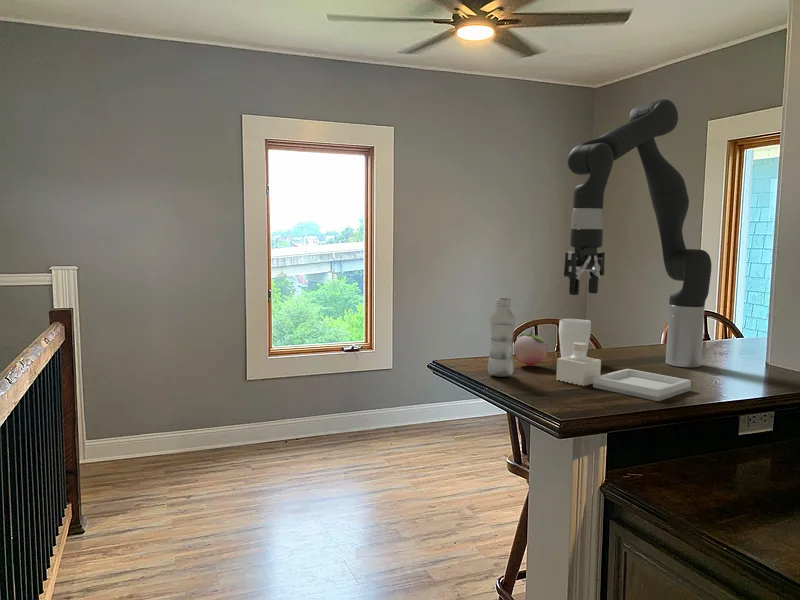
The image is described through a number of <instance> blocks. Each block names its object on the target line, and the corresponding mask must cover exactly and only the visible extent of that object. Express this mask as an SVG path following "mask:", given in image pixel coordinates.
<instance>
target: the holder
mask: <svg viewBox="0 0 800 600" xmlns="http://www.w3.org/2000/svg"><path fill="white" fill-rule="evenodd" d="M570 358H571V356H568V357H562V358H561V357H558V358H557V359H556V379H555V380H556V381H558V380H560V381H559V382H563V381H564V383H567V382H568V384H572V383H573V384H572V385H576V384H577V385H576V386H581V385H582V386H581V387H583V386H588V385H593V378H594V377H595V376H600V375H601V371H602V370H601V368H602V360H601V359H597V358H593V357H588V362H577V361H572V360H570Z"/></svg>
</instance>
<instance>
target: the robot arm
mask: <svg viewBox="0 0 800 600" xmlns="http://www.w3.org/2000/svg"><path fill="white" fill-rule="evenodd" d="M628 117H629V118H628V119H629V120H628V122H626V123H624V124H621V125H618V126H616V127H614V128H612V129H611V130H609V131H607V132H606V133H604V134H603V135H601V136H599V137H597V138H594V139H590V140H588V141H585V142H582V143H580V144H577V145H576V146H575V147H573V148H572V149H571V150H570V153H569V154H568V156H567V167H568V169H569V170H570V171H571V172H572V173H574V174H575V175H579V176H580V175H581V176H583V175H589V176H588V178H587V180H586V181H585V182H583V183H581V184H578V185H576V186H575V187H574V189H573V199H572V200H573V201H572V213H571V217H570V218H571V219H570V221H571V222H570V238H569V239H570V240H569V241H570V242H569V246H570V247H571V248H574V249H573V251H566V252H565V256H564V266H563V267H564V269H563V276H564V277H565V278H566V277H567V278H568V279H569V288H568V289H569V290H568V292H569V293H568V294H569V295H571V296H578V295H579V293H580V282H581V281H580V277H581V275H582V273H584V272H586V273H587V275H588V277H589V278H588V287H587V289H588V290H587V291H588V293H589V294H597V293H598V291H599V290H598V289H599V279H600V278H601V277H602V276H604V275H605V258H606V257H605V255H606V254H605V252H604V251H598V249H600V248H602V246H603V239H604V238H603V236H604V235H603V233H604V197H605V190H606V187H607V184H608V180H609V177H610V173H611V171H612V168H613V165H614V162H615V161H617V160H618V159H620V158H621V157H623V156H625V154H627V153H629V152H630V151H632V150H633V149H635V148H636V150H637V152H638V155H639V157H640V161H641V164H642V168H643V171H644V175H645V179H646V182H647V187H648V191H649V195H650V196H649V197H650V200H651V204H652V207H653V211H654V214H655V218H656V224H657V227H658V232H659V237H660V243H661V249H662V250H661V251H662V257H663V264H664V269H665V271H666V274H667V275H668V277H669V278H670V279H672V280H674V281H677V282H678V281H679V282H682V286H681V289H679V290H678V291H677V292H674V293H672V294H670V296H669V298H668V300H669V301H668V314H667V316H668V318H667V334H666V348H665V364H667V365H669V366H674V367H680V368H699V367H701V364H702V351H703V350H702V349H703V339H704V338H703V336H704V323H705V322H704V321H705V310H706V309H705V308H706V307H705V304H706V300H707V299H708V296H709V293H710V292H709V291H710V282H711V277H712V259H711V256H710V254H709V253H708V252H707V251H705V250H704V249H697V248H687V247H686V244H685V241H684V235H683V226H684V223H685V221H686V216H687V213H688V210H689V205H690V200H689V199H690V198H689V194H688V189H687V186H686V182H685V179H684V177H683V176H682V174H681V173H680V172H679V171H678V170H677V169H676V168H675V167H674V166H673V165H672V164H671V163H670V162H669V161H667V159H666V158H665V157H664V156H663V155H662V153H661V152H660V150H659V148H658V145H657V143H656V139H655V138H656V137H662V136H665V135H667V134H669V133H671V132H673V131H674V130H675V128H676V127H677V125H678V122H679V112H678V109H677V107H676V104H675V102H672V101H671V100H670V99H657V100H655V101H652V102H648V103H644V104H641V105H639V106H636V107H633V108H632V109H631V111H630V113H629V116H628Z"/></svg>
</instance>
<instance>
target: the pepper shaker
mask: <svg viewBox="0 0 800 600" xmlns="http://www.w3.org/2000/svg"><path fill="white" fill-rule="evenodd" d="M586 346H587V344H586V343H579V342H576V343H573V355H571V358H570V360H572V361H577V362H588V358H589V357H588V356H587V355H586Z"/></svg>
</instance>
